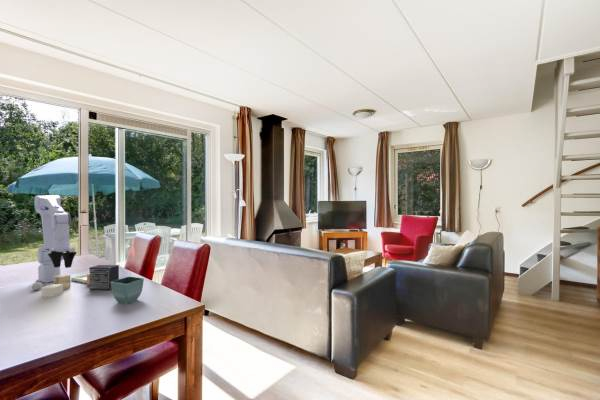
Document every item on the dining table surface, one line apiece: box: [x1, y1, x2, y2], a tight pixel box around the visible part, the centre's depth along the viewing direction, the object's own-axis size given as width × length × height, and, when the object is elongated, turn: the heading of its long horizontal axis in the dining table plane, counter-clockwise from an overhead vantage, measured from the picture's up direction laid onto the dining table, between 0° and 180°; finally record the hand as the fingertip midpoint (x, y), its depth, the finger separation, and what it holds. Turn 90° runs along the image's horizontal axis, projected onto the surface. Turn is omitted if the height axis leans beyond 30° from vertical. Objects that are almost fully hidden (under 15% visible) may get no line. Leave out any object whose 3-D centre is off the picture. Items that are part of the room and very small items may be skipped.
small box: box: [89, 264, 120, 291], centre depth 140 cm, size 11×6×10 cm, turn 84°
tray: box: [70, 272, 90, 284], centre depth 154 cm, size 12×12×2 cm
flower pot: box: [111, 276, 145, 305], centre depth 122 cm, size 9×9×9 cm
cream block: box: [41, 283, 64, 298], centre depth 130 cm, size 5×5×4 cm
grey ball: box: [31, 281, 43, 291], centre depth 137 cm, size 4×4×4 cm
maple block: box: [53, 273, 72, 290], centre depth 139 cm, size 4×4×6 cm
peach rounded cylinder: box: [86, 272, 90, 286], centre depth 146 cm, size 4×4×5 cm
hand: (62, 267), depth 139 cm, fingers open, 7 cm apart
